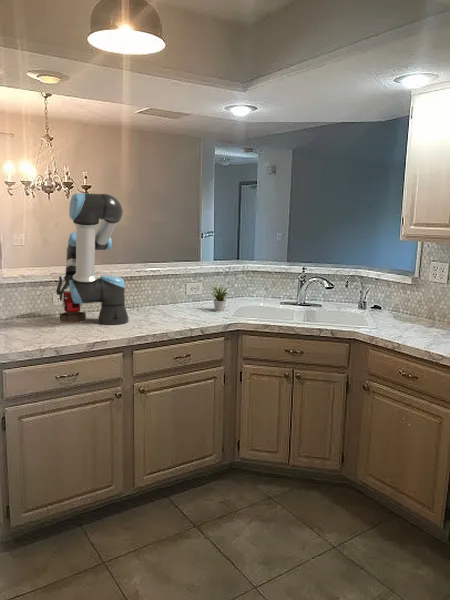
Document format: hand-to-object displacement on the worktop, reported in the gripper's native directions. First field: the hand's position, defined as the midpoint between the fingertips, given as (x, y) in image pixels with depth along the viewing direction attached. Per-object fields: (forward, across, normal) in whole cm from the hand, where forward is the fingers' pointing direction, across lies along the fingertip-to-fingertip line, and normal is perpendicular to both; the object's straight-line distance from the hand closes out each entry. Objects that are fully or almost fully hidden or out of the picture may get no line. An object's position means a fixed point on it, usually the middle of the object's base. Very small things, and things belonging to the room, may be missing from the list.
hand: (71, 304), depth 254 cm
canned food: (0, 0, -5) cm, 5 cm away
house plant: (-6, -78, -18) cm, 81 cm away
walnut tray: (+4, 0, -8) cm, 9 cm away
